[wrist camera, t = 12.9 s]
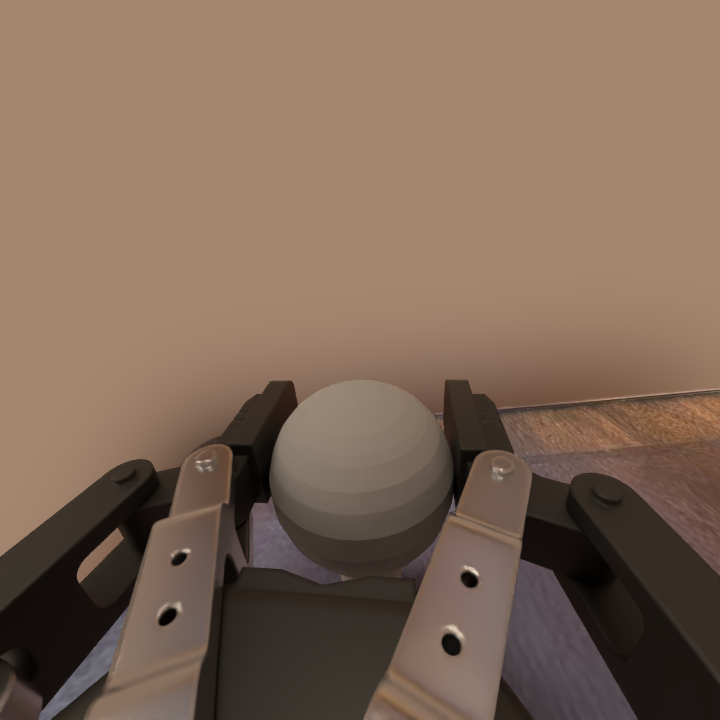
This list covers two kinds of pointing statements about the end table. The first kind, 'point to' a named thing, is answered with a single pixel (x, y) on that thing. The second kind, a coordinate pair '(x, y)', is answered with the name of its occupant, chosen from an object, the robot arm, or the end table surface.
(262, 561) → the end table surface
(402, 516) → the light bulb
